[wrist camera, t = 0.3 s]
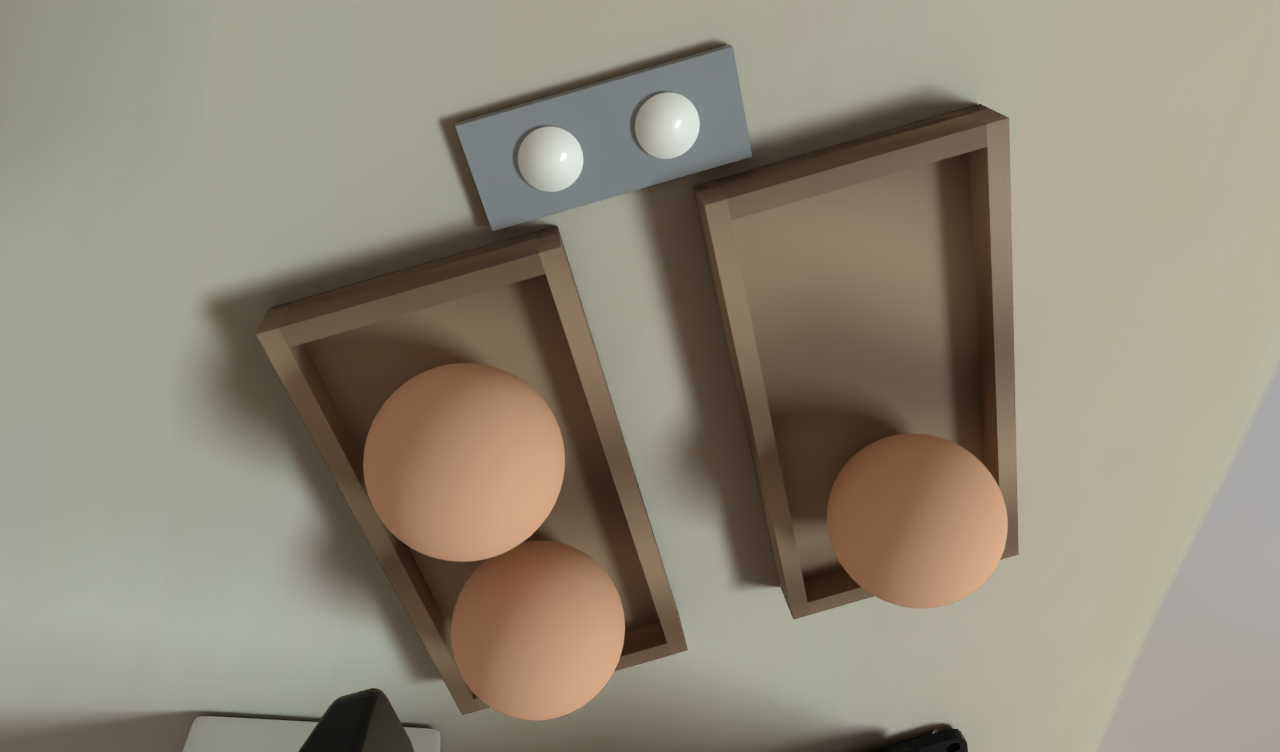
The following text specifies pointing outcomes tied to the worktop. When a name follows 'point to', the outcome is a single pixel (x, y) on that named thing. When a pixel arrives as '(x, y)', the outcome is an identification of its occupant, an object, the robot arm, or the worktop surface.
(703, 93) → the card
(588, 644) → the ball
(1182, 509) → the worktop surface
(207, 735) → the milk carton
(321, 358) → the trough
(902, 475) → the ball
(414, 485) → the ball
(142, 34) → the worktop surface
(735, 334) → the trough
